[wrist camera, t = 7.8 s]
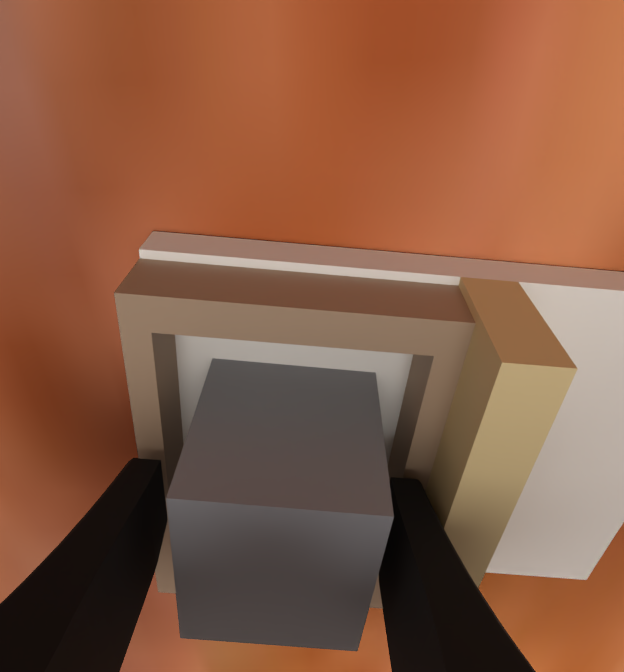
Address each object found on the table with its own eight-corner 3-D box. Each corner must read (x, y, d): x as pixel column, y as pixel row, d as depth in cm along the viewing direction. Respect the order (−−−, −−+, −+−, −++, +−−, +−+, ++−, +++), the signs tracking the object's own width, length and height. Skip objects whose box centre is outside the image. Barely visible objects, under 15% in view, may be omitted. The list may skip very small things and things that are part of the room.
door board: (733, 281, 11) (900, 395, 8) (573, 551, 17) (634, 686, 14) (153, 231, 11) (77, 327, 8) (180, 521, 17) (142, 651, 13)
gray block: (350, 500, 14) (357, 651, 11) (215, 488, 14) (180, 638, 11) (375, 372, 12) (393, 516, 9) (212, 358, 12) (166, 498, 8)
